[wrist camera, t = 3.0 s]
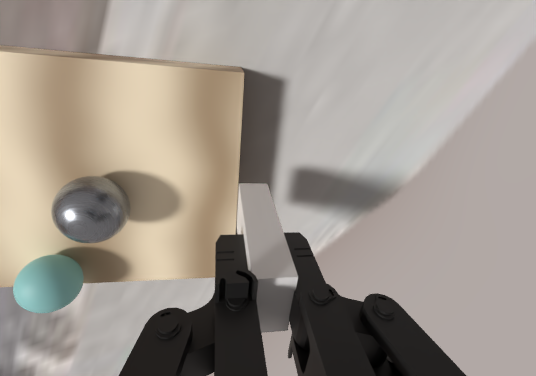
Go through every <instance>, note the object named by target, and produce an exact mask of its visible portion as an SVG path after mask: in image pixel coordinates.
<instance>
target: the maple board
mask: <svg viewBox="0 0 536 376" xmlns="http://www.w3.org/2000/svg"><path fill="white" fill-rule="evenodd" d="M243 89H244V71H243V70H242V69H241V67H233V66H222V65H211V64H200V63H189V62H178V61H168V60H157V59H146V58H135V57H124V56H113V55H102V54H91V53H80V52H69V51H58V50H47V49H36V48H25V47H14V46H3V45H0V287H14V282H15V279H16V277H17V275H18V274H19V272H20V271H21V270H22V269H23V268H24V267H25V266H26V265H27V264H29V263H30V262H32V261H33V260H35V259H37V258H40V257H43V256H47V255H64V256H67V257H70V258H72V259H74V260H75V261H76V262H77V263H78V264H79V265H80V267H81V269H82V271H83V276H84V281H83V283H102V282H124V281H145V280H167V279H189V278H210V277H215V248H216V241H217V240H218V238H219V236H220V235H236V217H237V198H238V180H239V162H240V144H241V126H242V107H243ZM86 176H99V177H104V178H107V179H110V180H112V181H114V182H116V183H117V184H118V185H120V186H121V187H122V188H123V189H124V191H125V192H126V194H127V196H128V198H129V201H130V207H131V209H130V216H129V219H128V221H127V223H126V225H125V226H124V228H123V229H122V230H121V231H120V232H119V233H118V234H116V235H115V236H114V237H112V238H110V239H108V240H105V241H102V242H98V243H81V242H76V241H73V240H71V239H69V238H67V237H66V236H64V235H63V234H62V233H61V232H60V231H59V230H58V229H57V228H56V226H55V224H54V222H53V220H52V215H51V207H52V202H53V200H54V198H55V196H56V194H57V193H58V191H59V190H60V189H61V188H62V187H63V186H65V185H66V184H67V183H69V182H70V181H72V180H75V179H77V178H81V177H86Z"/></svg>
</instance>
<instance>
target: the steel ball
mask: <svg viewBox="0 0 536 376" xmlns="http://www.w3.org/2000/svg"><path fill="white" fill-rule="evenodd" d="M130 209H131V207H130V201H129V198H128V196H127V194H126V192H125V191H124V189H123V188H122V187H121V186H120V185H118V184H117V183H116V182H114V181H112V180H110V179H107V178H104V177H99V176H86V177H81V178H77V179H75V180H72V181H70V182H69V183H67V184H66V185H65V186H63V187H62V188H61V189H60V190H59V191H58V193H57V194H56V196H55V198H54V200H53V202H52V207H51V215H52V220H53V222H54V224H55V226H56V228H57V229H58V230H59V231H60V232H61V233H62V234H63V235H64V236H66V237H67V238H69V239H71V240H73V241H76V242H81V243H98V242H102V241H105V240H108V239H110V238H112V237H114V236H115V235H116V234H118V233H119V232H120V231H121V230H122V229H123V228H124V226H125V225H126V223H127V221H128V219H129V216H130Z"/></svg>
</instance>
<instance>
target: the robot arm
mask: <svg viewBox="0 0 536 376" xmlns="http://www.w3.org/2000/svg"><path fill="white" fill-rule="evenodd" d="M289 321H290V325H291V329H292V336H291V341H290V346H289V350H288V358H291V357H292V352H293V356H294V360H295V364H296V368H297V373H298V376H466V375H465V374H464V373H463V372H462V371H461V370H460V369H459V368H458V367H457V365H456V364H455V363H454V362H453V361H452V360H451V359H450V358H449V357H448V356H447V355H446V354H445V353H444V352H443V351H442V350H441V348H440V347H439V346H438V345H437V344H436V343H435V342H434V341H433V340H432V339H431V338H430V337H429V336H428V335H427V334H426V333H425V332H424V330H422V328H421V327H419V325H418V324H417V323H416V322H415V321H414V320H413V319H412V318H411V317H410V316H409V315H408V314H407V313H406V311H405V310H404V309H403V308H402V307H401V306H400V305H399V304H398V303H397V302H395V301H394V300H393V299H391V298H389V297H387V296H385V295H381V294H370V295H369V296H367V297H366V298H365V300H364V302H361V301H357V300H352V299H348V298H345V297H341V296H340V295H338V293H337V292H336V290H335V289H334V288H332V287H331V286H330V285H329V284H326V282H325V280H324V278H323V276H322V273H321V271H320V269H319V266H318V264H317V262H316V260H315V257H314V256H313V253H312V250H311V249H310V246H309V243H308V241H307V239H306V238H305V237H304V236H303V235H301V234H300V233H284V232H283V229H282V226H281V223H280V220H279V217H278V214H277V211H276V208H275V205H274V202H273V199H272V196H271V193H270V190H269V187H268V184H261V183H239V192H238V210H237V235H220V236H219V238H218V240H217V241H216V248H215V293H214V295H213V297H212V299H211V300H210V301H209V303H207V304H206V305H205V306H203V307H201V308H199V309H197V310H194V311H192V312H189V313H187V312H186V311H185V310H182V309H179V308H167V309H164V310H161V311H159V312H157V313H156V314H154V315H153V316H152V317H151V318H150V319H149V320H148V322H147V323H146V324H145V326H144V328H143V330H142V332H141V334H140V336H139V338H138V340H137V342H136V344H135V346H134V347H133V349H132V351H131V353H130V355H129V357H128V359H127V361H126V363H125V365H124V367H123V369H122V371H121V372H120V374H119V376H207V375H209V374H211V373H213V372H214V376H268V375H267V368H266V362H265V355H264V348H263V342H262V335H261V333H262V332H274V331H285V330H288V325H289Z"/></svg>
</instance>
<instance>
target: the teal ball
mask: <svg viewBox="0 0 536 376" xmlns="http://www.w3.org/2000/svg"><path fill="white" fill-rule="evenodd" d="M83 281H84V276H83V271H82V269H81V267H80V265H79V264H78V263H77V262H76V261H75V260H74V259H72V258H70V257H67V256H64V255H47V256H43V257H40V258H37V259H35V260H33V261H32V262H30V263H29V264H27V265H26V266H25V267H24V268H23V269H22V270H21V271H20V272H19V274H18V275H17V277H16V279H15V282H14V287H13V292H14V297H15V299H16V301H17V303H18V304H19V305H20V306H21V307H22V308H24V309H26V310H28V311H31V312H35V313H49V312H53V311H56V310H59V309H61V308H63V307H65V306H66V305H68V304H69V303H71V302H72V301H73V300H74V299H75V298H76V297H77V295H78V294H79V292H80V290H81V288H82V285H83Z"/></svg>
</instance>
